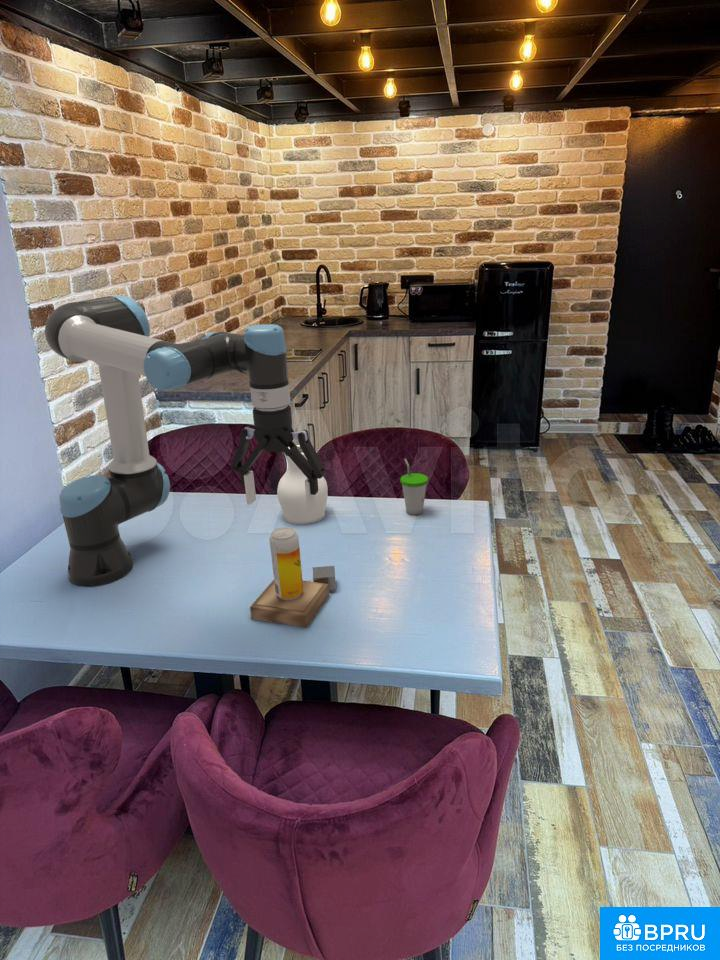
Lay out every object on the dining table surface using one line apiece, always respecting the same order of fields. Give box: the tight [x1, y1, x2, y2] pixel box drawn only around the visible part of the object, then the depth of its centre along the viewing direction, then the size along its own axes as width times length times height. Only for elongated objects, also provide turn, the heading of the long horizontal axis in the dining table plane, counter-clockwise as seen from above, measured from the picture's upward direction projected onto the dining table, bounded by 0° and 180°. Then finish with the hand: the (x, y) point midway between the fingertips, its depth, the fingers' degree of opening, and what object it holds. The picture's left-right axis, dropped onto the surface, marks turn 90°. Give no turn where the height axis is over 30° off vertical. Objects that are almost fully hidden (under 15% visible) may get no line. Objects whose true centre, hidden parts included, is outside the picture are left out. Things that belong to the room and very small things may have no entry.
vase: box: [276, 444, 329, 525], centre depth 191 cm, size 14×14×20 cm
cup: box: [399, 458, 429, 516], centre depth 191 cm, size 8×8×15 cm
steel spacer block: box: [312, 565, 337, 593], centre depth 158 cm, size 5×5×4 cm
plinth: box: [249, 579, 330, 629], centre depth 150 cm, size 13×13×3 cm
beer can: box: [269, 526, 304, 600], centre depth 147 cm, size 6×6×15 cm
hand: (281, 505), depth 142 cm, fingers open, 13 cm apart
